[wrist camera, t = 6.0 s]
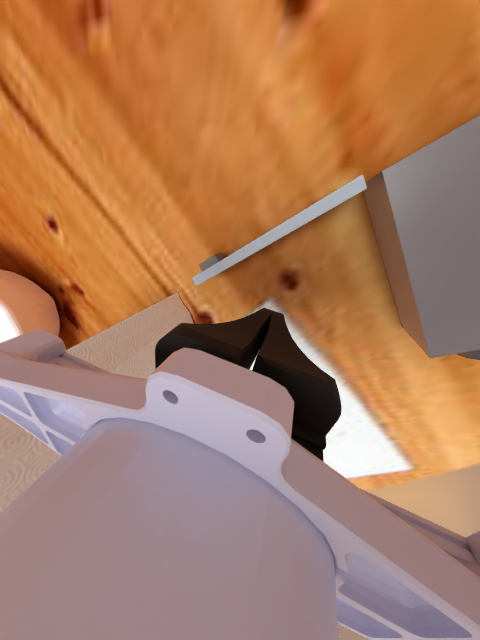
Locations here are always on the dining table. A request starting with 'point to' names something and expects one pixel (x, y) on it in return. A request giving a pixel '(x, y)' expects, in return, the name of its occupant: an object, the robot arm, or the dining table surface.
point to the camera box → (433, 240)
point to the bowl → (25, 307)
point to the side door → (280, 230)
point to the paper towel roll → (106, 353)
